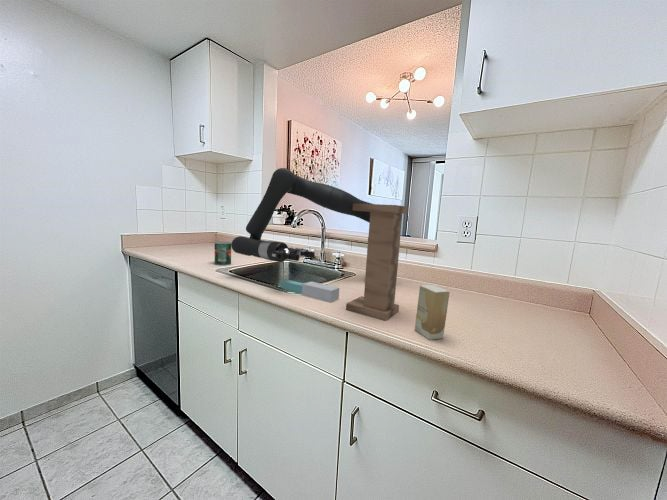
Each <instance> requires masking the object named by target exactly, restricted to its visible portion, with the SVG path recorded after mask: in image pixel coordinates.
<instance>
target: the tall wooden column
mask: <svg viewBox="0 0 667 500" xmlns="http://www.w3.org/2000/svg"><path fill="white" fill-rule="evenodd" d="M353 211H366V212H370V223H369V226H368V236H369V237H368V236H367V246H368V250H367V249H366V260H367V263H366V262H365V273H366V277H364V293H363V296H359V297H357V298H355V299H352V300H351V301H349V302H347V303H345V311H348V312H353V313H356V314H360V315H363V316H367V317H371V318H375V319H378V320H382V321H384V322H386V321H389V320H390V318H392V317H393V316H394V315H395V314H397V313H398V312H399V307H400V305H399V304H395V301H396V300H395V298H396V289H397V279H398V278H397V277H398V267H399V256H400V244H401V237H402V235H401V233H402V224H403V221H402V220H403V215H404V214H405V215H407V214H408V212H409V206H404V205H397V204H376V203H372V204H353Z"/></svg>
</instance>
